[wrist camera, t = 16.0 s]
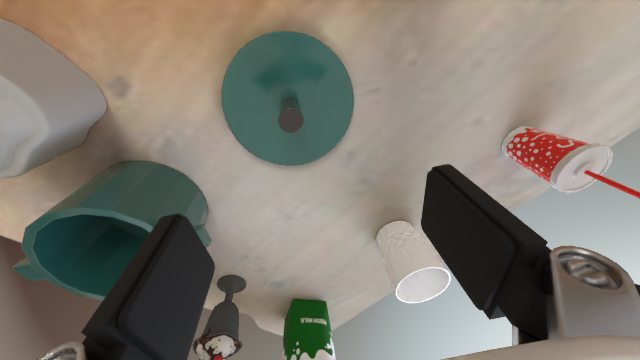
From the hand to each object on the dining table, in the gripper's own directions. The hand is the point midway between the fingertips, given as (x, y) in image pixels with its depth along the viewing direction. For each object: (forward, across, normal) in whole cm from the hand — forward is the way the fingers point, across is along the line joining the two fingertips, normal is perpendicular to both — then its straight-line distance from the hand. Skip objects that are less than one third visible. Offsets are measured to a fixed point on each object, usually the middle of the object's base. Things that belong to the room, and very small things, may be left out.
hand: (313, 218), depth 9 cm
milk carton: (+20, +6, +42) cm, 48 cm away
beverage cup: (+21, -30, +11) cm, 39 cm away
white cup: (+21, -12, +25) cm, 35 cm away
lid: (+20, +1, +1) cm, 20 cm away
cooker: (+21, +22, +11) cm, 32 cm away
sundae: (+20, +18, +30) cm, 40 cm away
